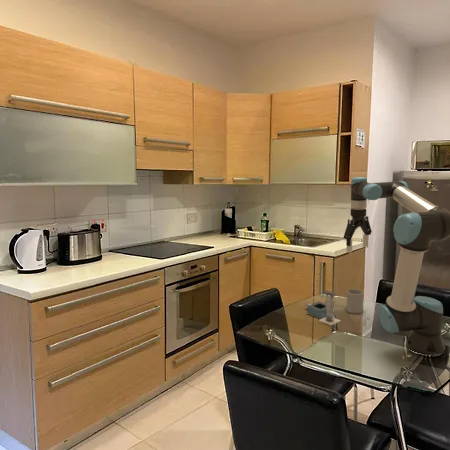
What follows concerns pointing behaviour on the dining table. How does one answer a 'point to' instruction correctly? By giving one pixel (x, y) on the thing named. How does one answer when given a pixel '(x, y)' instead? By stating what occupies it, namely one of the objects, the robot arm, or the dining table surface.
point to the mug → (354, 301)
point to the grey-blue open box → (317, 309)
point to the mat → (329, 322)
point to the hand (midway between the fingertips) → (357, 249)
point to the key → (329, 305)
